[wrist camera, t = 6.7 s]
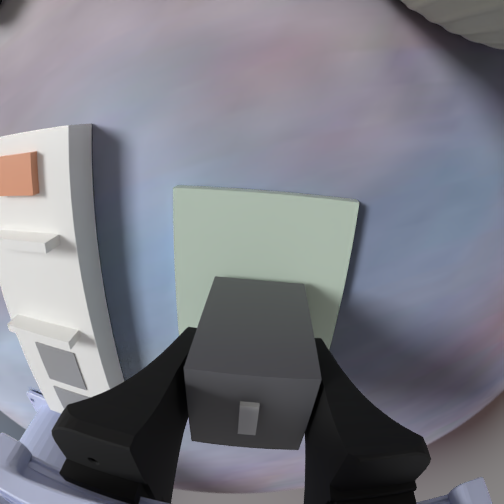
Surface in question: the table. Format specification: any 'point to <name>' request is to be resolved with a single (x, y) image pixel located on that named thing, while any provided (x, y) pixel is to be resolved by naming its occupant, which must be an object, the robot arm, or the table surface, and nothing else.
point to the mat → (262, 246)
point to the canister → (466, 18)
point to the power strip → (55, 263)
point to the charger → (252, 365)
